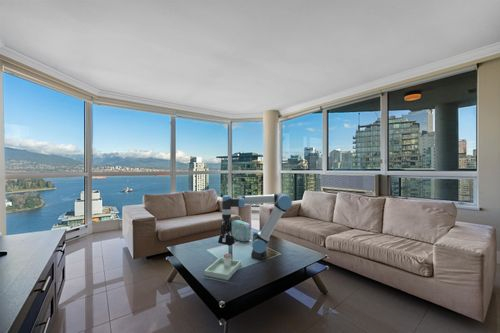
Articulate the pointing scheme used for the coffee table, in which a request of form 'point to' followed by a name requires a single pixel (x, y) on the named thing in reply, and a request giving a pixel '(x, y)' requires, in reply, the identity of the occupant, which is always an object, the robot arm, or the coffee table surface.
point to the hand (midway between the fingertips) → (226, 240)
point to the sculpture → (227, 238)
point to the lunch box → (241, 230)
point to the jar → (227, 260)
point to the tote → (222, 269)
